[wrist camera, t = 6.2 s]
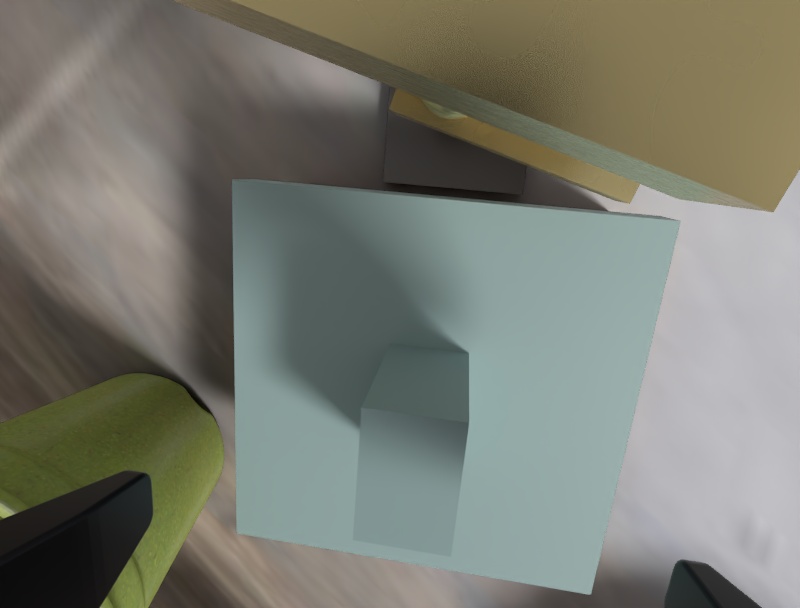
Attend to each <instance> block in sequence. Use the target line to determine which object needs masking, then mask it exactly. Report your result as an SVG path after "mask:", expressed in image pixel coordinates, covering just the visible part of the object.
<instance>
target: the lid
mask: <svg viewBox="0 0 800 608" xmlns="http://www.w3.org/2000/svg"><path fill="white" fill-rule="evenodd" d="M679 225H680V221H678V220H674V219H670V218H666V217H662V216H653V215H642V214H631V213H620V212H610V211H599V210H588V209H577V208H566V207H555V206H544V205H533V204H522V203H511V202H500V201H489V200H478V199H467V198H457V197H446V196H435V195H424V194H413V193H402V192H391V191H380V190H369V189H358V188H347V187H336V186H325V185H314V184H304V183H293V182H282V181H271V180H260V179H238V180H232V227H233V299H234V371H235V443H236V515H237V533H238V534H244V535H250V536H255V537H261V538H267V539H273V540H278V541H284V542H290V543H296V544H301V545H307V546H313V547H318V548H324V549H330V550H336V551H341V552H347V553H353V554H359V555H364V556H370V557H376V558H382V559H387V560H393V561H399V562H405V563H410V564H416V565H422V566H428V567H433V568H439V569H445V570H450V571H456V572H462V573H468V574H473V575H479V576H485V577H491V578H496V579H502V580H508V581H514V582H519V583H525V584H531V585H537V586H542V587H548V588H554V589H559V590H565V591H571V592H577V593H582V594H588V595H591V592H592V588H593V584H594V579H595V575H596V571H597V567H598V563H599V559H600V554H601V550H602V546H603V542H604V538H605V534H606V529H607V525H608V521H609V517H610V513H611V509H612V504H613V500H614V496H615V492H616V488H617V484H618V479H619V475H620V471H621V467H622V463H623V459H624V454H625V450H626V446H627V442H628V438H629V434H630V429H631V425H632V421H633V417H634V413H635V409H636V404H637V400H638V396H639V392H640V388H641V384H642V380H643V375H644V371H645V367H646V363H647V359H648V355H649V350H650V346H651V342H652V338H653V334H654V330H655V325H656V321H657V317H658V313H659V309H660V305H661V300H662V296H663V292H664V288H665V284H666V280H667V275H668V271H669V267H670V263H671V259H672V255H673V250H674V246H675V242H676V238H677V234H678V230H679Z"/></svg>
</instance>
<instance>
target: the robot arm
mask: <svg viewBox="0 0 800 608" xmlns="http://www.w3.org/2000/svg"><path fill="white" fill-rule="evenodd" d="M152 518H153V496H152V482H151V478H150V476H149V475H148V474H147V473H144V472H138V471H132V470H125V471H122V472H119V473H117V474H114V475H112V476H109V477H107V478H104V479H102V480H99V481H97V482H94V483H92V484H89V485H86V486H84V487H81V488H79V489H76V490H74V491H71V492H69V493H66V494H64V495H61V496H59V497H56V498H54V499H51V500H49V501H46V502H44V503H41V504H39V505H36V506H34V507H31V508H28V509H26V510H23V511H21V512H18V513H16V514H13V515H11V516H8V517H6V518H3V519H1V520H0V608H100V607H101V605H102V603H103V602H104V600H105V599H106V597H107V596H108V594H109V592H110V591H111V589H112V587H113V586H114V584H115V582H116V581H117V579H118V577H119V576H120V574H121V572H122V571H123V569H124V568H125V566H126V564H127V563H128V561H129V559H130V558H131V556H132V554H133V553H134V551H135V549H136V548H137V546H138V544H139V543H140V541H141V539H142V538H143V536H144V534H145V533H146V531H147V529H148V528H149V526H150V524H151V521H152ZM664 608H762V607H760V606H759V605H758V604H757V603H755V602H754V601H753V600H752V599H750V598H749V597H748V596H747V595H745V594H744V593H743V592H742V591H740V590H739V589H738V588H737V587H735V586H734V585H733V584H732V583H731V582H729V581H728V580H727V579H726V578H724V577H723V576H722V575H721V574H719V573H718V572H717V571H716V570H714V569H713V568H712V567H711V566H709V565H708V564H705V563H702V562H696V561H689V560H679V561H677V563H676V564H675V566H674V569H673V572H672V576H671V579H670V583H669V586H668V590H667V593H666V597H665V603H664Z"/></svg>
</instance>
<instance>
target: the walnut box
mask: <svg viewBox="0 0 800 608" xmlns="http://www.w3.org/2000/svg"><path fill="white" fill-rule="evenodd" d="M395 90H396V88H394V87H392V86H390V91H389V105H388V120H387V134H386V148H385V162H384V177H383V182H388V183H399V184H410V185H422V186H433V187H444V188H455V189H466V190H477V191H489V192H500V193H511V194H523V187H524V180H525V173H526V167H527V166H526V165H523V164H521V163H518V162H516V161H513V160H511V159H508V158H505V157H503V156H500V155H498V154H495V153H493V152H490V151H488V150H485V149H483V148H480V147H478V146H475V145H472V144H470V143H467V142H465V141H462V140H460V139H457V138H454V137H451V136H448V135H447V134H444V133H442V132H439V131H437V130H434V129H432V128H429V127H427V126H424V125H422V124H419V123H416V122H414V121H411V120H409V119H406V118H404V117H401V116H399V115H396V114H395V113H394V112H392V111H391V110H390V109H389V108H390V105H391V102H392V99H393V96H394V93H395Z"/></svg>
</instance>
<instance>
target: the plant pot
mask: <svg viewBox="0 0 800 608" xmlns="http://www.w3.org/2000/svg"><path fill="white" fill-rule="evenodd" d="M223 463H224V445H223V440H222V436H221V433H220V430H219V427H218V425H217V423H216V421H215V419H214V418H213V416H212V415H211V414H210V413H208V412H206V411H205V410H204V409H202V408H201V407H200V406H199V405H198V404H197V403H196V402H195V401H194V400H193V399H192V397H191V396H190V395H189V394H188V392H187V390H186V389H185V388H184V387H183V386H181V385H180V384H178V383H176V382H174V381H171V380H169V379H166V378H164V377H160V376H156V375H151V374H146V373H131V374H124V375H121V376H118V377H114V378H112V379H110V380H107V381H105V382H102V383H100V384H97V385H95V386H92V387H90V388H87V389H85V390H83V391H80V392H78V393H75V394H73V395H70V396H68V397H65V398H63V399H60V400H58V401H55V402H53V403H50V404H48V405H45V406H43V407H40V408H38V409H35V410H33V411H30V412H27V413H25V414H22V415H20V416H17V417H15V418H12V419H10V420H7V421H5V422H2V423H0V520H1V519H3V518H6V517H8V516H11V515H13V514H16V513H18V512H21V511H23V510H26V509H28V508H31V507H34V506H36V505H39V504H41V503H44V502H46V501H49V500H51V499H54V498H56V497H59V496H61V495H64V494H66V493H69V492H71V491H74V490H76V489H79V488H81V487H84V486H86V485H89V484H92V483H94V482H97V481H99V480H102V479H104V478H107V477H109V476H112V475H114V474H117V473H119V472H122V471H125V470H132V471H138V472H144V473H147V474H148V475H149V476H150V478H151V482H152V496H153V518H152V521H151V524H150V526H149V528H148V529H147V531H146V533H145V534H144V536H143V538H142V539H141V541H140V543H139V544H138V546H137V548H136V549H135V551H134V553H133V554H132V556H131V558H130V559H129V561H128V563H127V564H126V566H125V568H124V569H123V571H122V572H121V574H120V576H119V577H118V579H117V581H116V582H115V584H114V586H113V587H112V589H111V591H110V592H109V594H108V596H107V597H106V599H105V600H104V602H103V603H102V605H101V607H100V608H148V607H149V606H150V604H151V602H152V600H153V598H154V596H155V594H156V593H157V591H158V589H159V587H160V585H161V583H162V581H163V579H164V578H165V576H166V574H167V572H168V570H169V568H170V566H171V565H172V563H173V561H174V559H175V557H176V556H177V554H178V552H179V550H180V548H181V546H182V545H183V543H184V541H185V539H186V537H187V535H188V534H189V532H190V530H191V528H192V526H193V525H194V523H195V521H196V519H197V518H198V516H199V514H200V512H201V510H202V509H203V507H204V505H205V503H206V501H207V500H208V498H209V496H210V494H211V492H212V490H213V489H214V487H215V485H216V483H217V481H218V479H219V477H220V475H221V472H222V469H223Z"/></svg>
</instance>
